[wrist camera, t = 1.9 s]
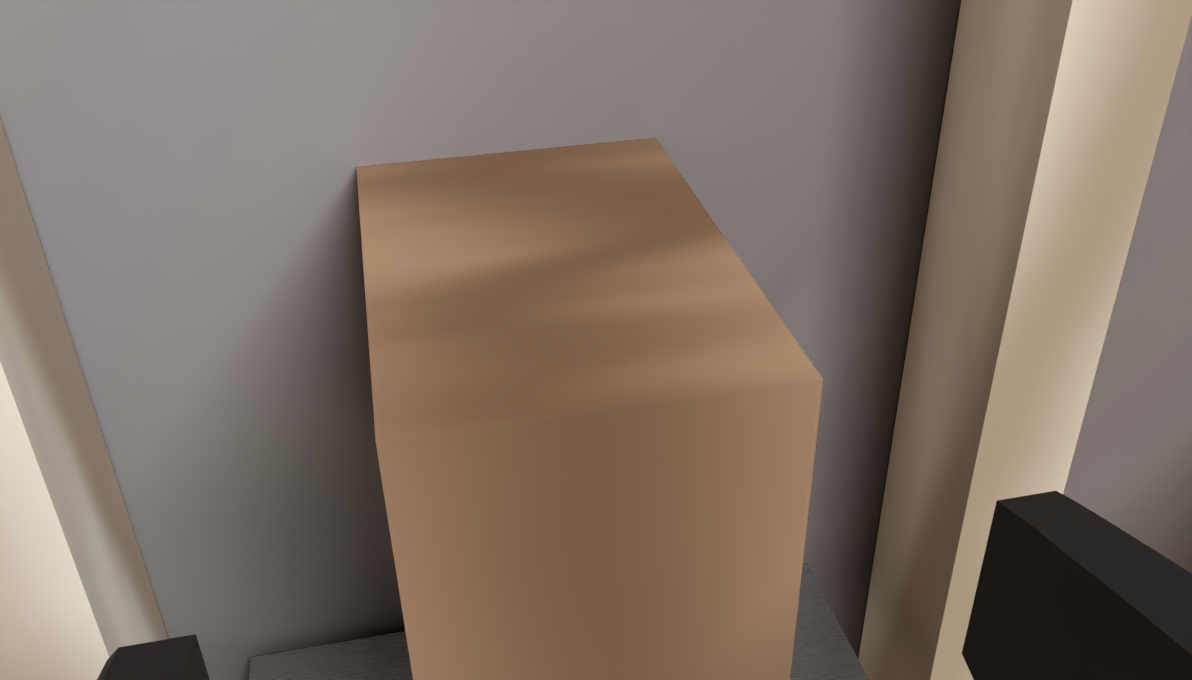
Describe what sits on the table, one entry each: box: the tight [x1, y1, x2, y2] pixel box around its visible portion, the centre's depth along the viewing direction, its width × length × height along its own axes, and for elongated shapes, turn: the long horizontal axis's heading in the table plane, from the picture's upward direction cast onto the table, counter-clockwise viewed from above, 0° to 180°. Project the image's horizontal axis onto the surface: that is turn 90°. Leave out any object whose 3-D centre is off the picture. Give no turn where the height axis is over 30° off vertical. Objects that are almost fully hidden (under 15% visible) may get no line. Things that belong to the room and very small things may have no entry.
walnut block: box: [356, 138, 823, 680], centre depth 13 cm, size 4×4×6 cm
